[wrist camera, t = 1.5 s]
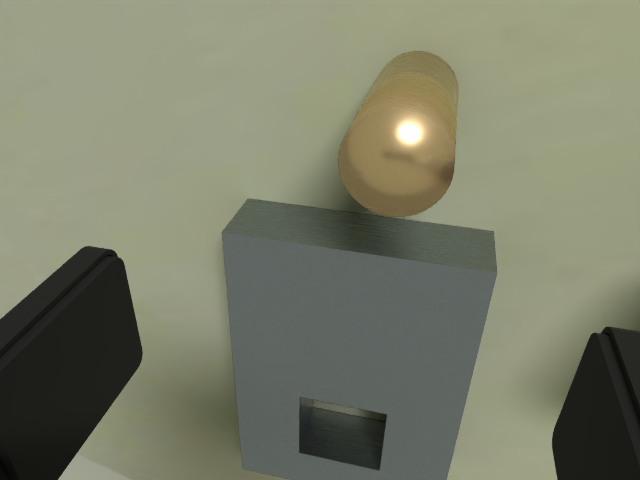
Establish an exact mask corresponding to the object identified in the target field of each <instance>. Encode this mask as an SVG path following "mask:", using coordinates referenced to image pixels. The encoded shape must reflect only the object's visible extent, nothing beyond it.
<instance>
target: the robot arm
mask: <svg viewBox="0 0 640 480" xmlns="http://www.w3.org/2000/svg"><path fill="white" fill-rule="evenodd" d="M142 354H143V352H142V346H141V341H140V337H139V332H138V327H137V322H136V318H135V313H134V308H133V303H132V299H131V294H130V289H129V284H128V280H127V275H126V270H125V265H124V262H123V260H122V259H121V258H118V256H117V254H116V252H115V251H113V250H110V249H104V248H97V247H91V246H86V247H84V248H82V249H81V250H79V251H78V252H77V253H76V254H75V255H74V256H72V257H71V258H70V259H69V260H68V261H67V262H66V263H64V264H63V265H62V266H61V267H60V268H59V269H58V270H56V271H55V272H54V273H53V274H52V275H51V276H50V277H48V278H47V279H46V280H45V281H44V282H43V283H42V284H40V285H39V286H38V287H37V288H36V289H35V290H34V291H32V292H31V293H30V294H29V295H28V296H27V297H25V298H24V299H23V300H22V301H21V302H20V303H19V304H17V305H16V306H15V307H14V308H13V309H12V310H11V311H9V312H8V313H7V314H6V315H5V316H4V317H3V318H1V319H0V480H58V479H59V477H60V476H61V474H62V473H63V471H64V470H65V469H66V467H67V466H68V465H69V463H70V462H71V460H72V459H73V458H74V456H75V455H76V454H77V452H78V451H79V449H80V448H81V447H82V445H83V444H84V442H85V441H86V440H87V438H88V437H89V435H90V434H91V433H92V431H93V430H94V428H95V427H96V426H97V424H98V423H99V422H100V420H101V419H102V417H103V416H104V415H105V413H106V412H107V410H108V409H109V408H110V406H111V405H112V403H113V402H114V401H115V399H116V398H117V396H118V395H119V394H120V392H121V391H122V390H123V388H124V387H125V385H126V384H127V383H128V381H129V380H130V378H131V377H132V376H133V374H134V373H135V371H136V370H137V369H138V367H139V365H140V363H141V360H142ZM552 448H553V455H554V461H555V467H556V473H557V479H558V480H640V332H639V331H632V330H626V329H620V328H613V327H605V328H604V329H603V331H602V333H601V334H599V333H593V334H592V335H591V336H590V338H589V341H588V343H587V346H586V348H585V351H584V353H583V356H582V359H581V361H580V364H579V366H578V369H577V371H576V374H575V377H574V379H573V382H572V384H571V387H570V389H569V392H568V395H567V397H566V400H565V402H564V405H563V407H562V410H561V413H560V415H559V418H558V420H557V423H556V425H555V428H554V431H553V438H552Z"/></svg>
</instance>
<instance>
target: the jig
mask: <svg viewBox="0 0 640 480" xmlns="http://www.w3.org/2000/svg"><path fill="white" fill-rule="evenodd" d="M222 241H223V252H224V264H225V275H226V286H227V298H228V309H229V321H230V332H231V343H232V355H233V366H234V378H235V389H236V400H237V412H238V423H239V435H240V446H241V457H242V469H246V470H250V471H255V472H259V473H263V474H267V475H272V476H276V477H280V478H284V479H289V480H447V476H448V472H449V468H450V464H451V460H452V456H453V452H454V448H455V443H456V439H457V435H458V431H459V427H460V423H461V419H462V415H463V411H464V407H465V403H466V398H467V394H468V390H469V386H470V382H471V378H472V374H473V370H474V366H475V362H476V358H477V353H478V349H479V345H480V341H481V337H482V333H483V329H484V325H485V321H486V317H487V313H488V308H489V304H490V300H491V296H492V292H493V288H494V284H495V280H496V276H497V265H496V253H495V241H494V231H487V230H479V229H472V228H464V227H457V226H449V225H442V224H434V223H427V222H419V221H412V220H404V219H397V218H389V217H382V216H374V215H367V214H359V213H352V212H344V211H337V210H329V209H322V208H314V207H307V206H299V205H292V204H284V203H277V202H269V201H262V200H254V199H247V201H246V202H245V203H244V204H243V206H242V207H241V208H240V210H239V211H238V212H237V213H236V215H235V216H234V217H233V219H232V220H231V221H230V222H229V224H228V225H227V226H226V227H225V229H224V230H223V231H222ZM314 400H319V401H324V402H329V403H334V404H339V405H343V406H348V407H353V408H358V409H363V410H368V411H373V412H378V413H383V414H387V419H386V422H382V421H377V420H372V419H368V418H363V417H358V416H353V415H348V414H343V413H339V412H334V411H329V410H324V409H319V408H314V407H313V403H314Z"/></svg>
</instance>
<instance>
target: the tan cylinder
mask: <svg viewBox="0 0 640 480" xmlns="http://www.w3.org/2000/svg"><path fill="white" fill-rule="evenodd" d="M457 107H458V84H457V80H456V76H455V74H454V72H453V70H452V69H451V67H450V66H449V65H448V64H447V63H446V62H445V61H444V60H443V59H441V58H440V57H438V56H436V55H434V54H432V53H428V52H423V51H413V52H408V53H404V54H402V55H399V56H397V57H396V58H394V59H393V60H391V61H390V62H389V63H388V64H387V65H386V66H385V67H384V69H383V70H382V71H381V73H380V75H379V77H378V78H377V80H376V82H375V84H374V86H373V87H372V89H371V91H370V93H369V94H368V96H367V98H366V100H365V102H364V103H363V105H362V107H361V109H360V110H359V112H358V114H357V116H356V118H355V119H354V121H353V123H352V125H351V126H350V128H349V130H348V132H347V134H346V135H345V137H344V139H343V141H342V144H341V146H340V150H339V156H338V167H339V173H340V176H341V180H342V182H343V184H344V186H345V188H346V189H347V191H348V192H349V194H350V195H351V196H352V197H353V198H354V199H355V200H356V201H357V202H358V203H359V204H361V205H362V206H363V207H365V208H367V209H368V210H370V211H373V212H375V213H378V214H381V215H385V216H392V217H404V216H411V215H414V214H418V213H420V212H423V211H425V210H427V209H428V208H430V207H432V206H433V205H434V204H436V203H437V202H438V201H439V200H440V199H441V198H442V197H443V195H444V194H445V193H446V191H447V189H448V188H449V186H450V183H451V181H452V177H453V173H454V163H455V144H456V125H457Z"/></svg>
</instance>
